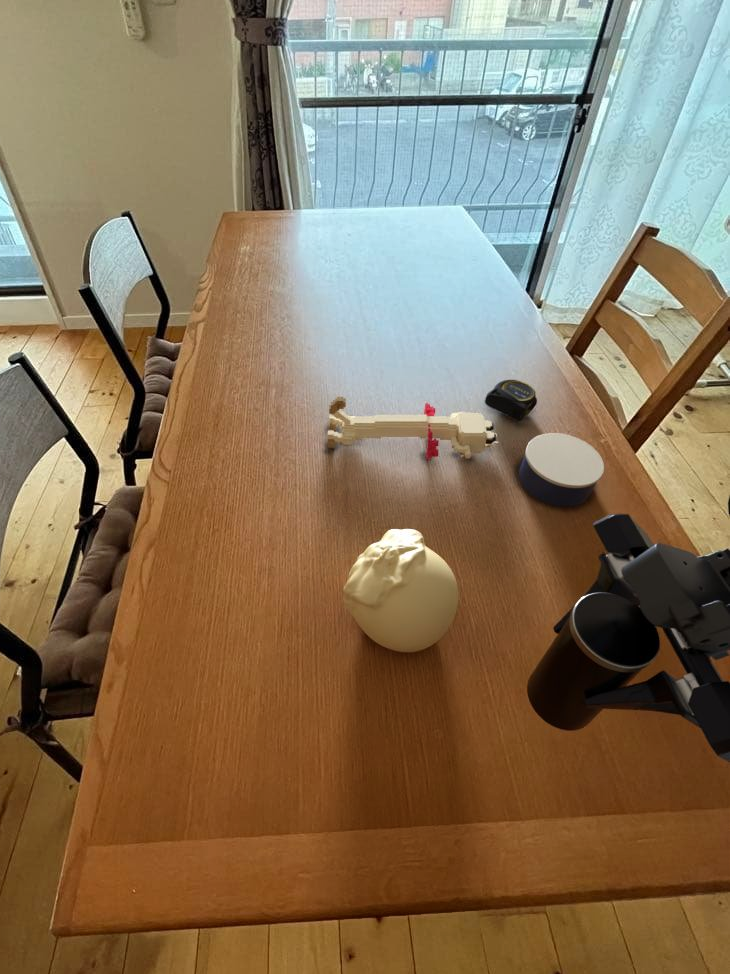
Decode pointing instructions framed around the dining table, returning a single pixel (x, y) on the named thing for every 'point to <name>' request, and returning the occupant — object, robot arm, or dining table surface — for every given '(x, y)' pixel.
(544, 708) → the tube
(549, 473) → the coffee tin
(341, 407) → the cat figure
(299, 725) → the dining table surface
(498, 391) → the tape measure
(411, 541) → the sculpture
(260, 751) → the dining table surface
